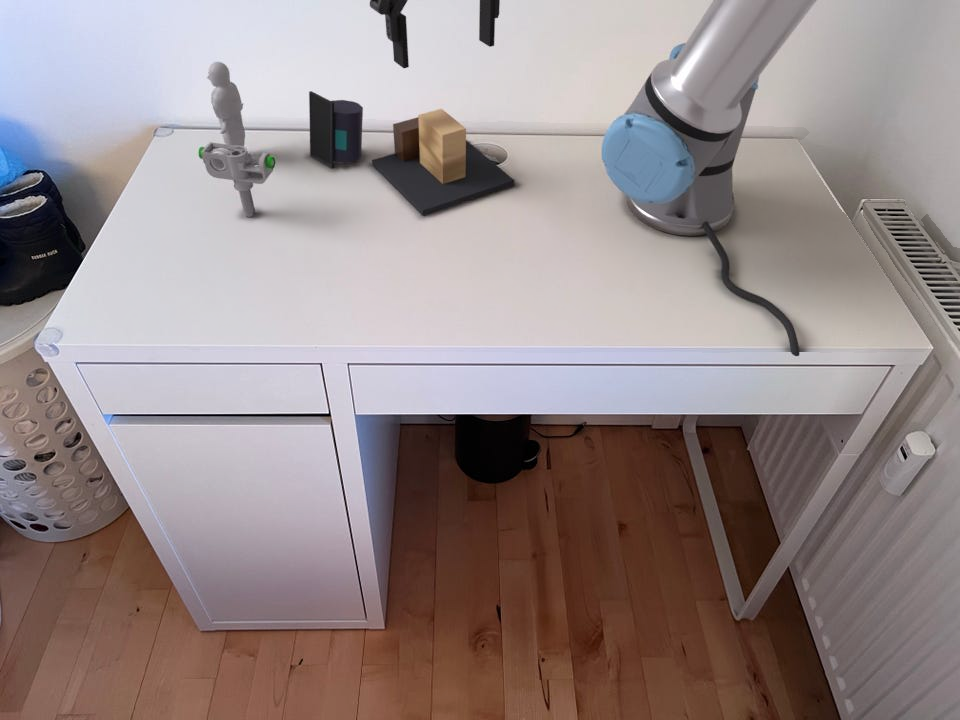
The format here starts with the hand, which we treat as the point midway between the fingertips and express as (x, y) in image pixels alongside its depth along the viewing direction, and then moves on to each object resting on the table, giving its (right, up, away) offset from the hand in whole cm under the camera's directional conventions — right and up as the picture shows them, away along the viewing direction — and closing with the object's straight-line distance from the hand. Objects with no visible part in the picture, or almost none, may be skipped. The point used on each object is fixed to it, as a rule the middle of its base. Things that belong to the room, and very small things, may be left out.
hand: (445, 53), depth 102 cm
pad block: (-1, -13, +13) cm, 18 cm away
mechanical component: (-28, -21, +5) cm, 36 cm away
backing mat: (-1, -13, +13) cm, 19 cm away
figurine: (-33, -10, +16) cm, 38 cm away
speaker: (-17, -10, +17) cm, 26 cm away
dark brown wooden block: (-5, -9, +16) cm, 19 cm away
